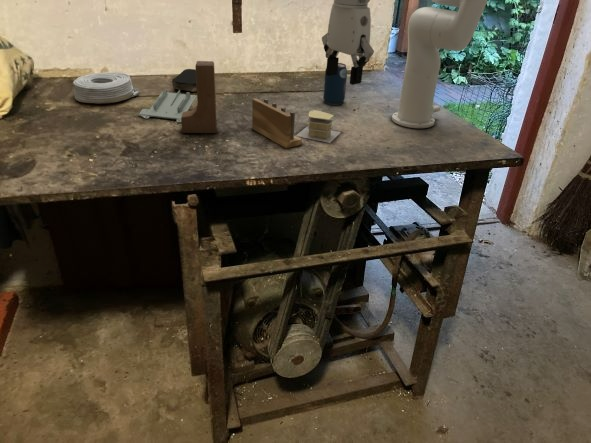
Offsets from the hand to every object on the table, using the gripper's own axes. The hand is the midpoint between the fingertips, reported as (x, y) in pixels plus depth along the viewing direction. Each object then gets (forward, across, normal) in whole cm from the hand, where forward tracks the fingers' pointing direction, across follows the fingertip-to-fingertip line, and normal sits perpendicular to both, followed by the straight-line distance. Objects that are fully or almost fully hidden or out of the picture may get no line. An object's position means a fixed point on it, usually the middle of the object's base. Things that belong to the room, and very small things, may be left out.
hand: (343, 78), depth 115 cm
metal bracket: (+18, +46, +24) cm, 55 cm away
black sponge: (+18, +68, +7) cm, 71 cm away
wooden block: (+18, +29, +24) cm, 42 cm away
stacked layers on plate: (+18, +10, -3) cm, 21 cm away
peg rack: (+18, +15, +8) cm, 25 cm away
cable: (+18, +69, +36) cm, 80 cm away
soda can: (+18, +30, -25) cm, 43 cm away
